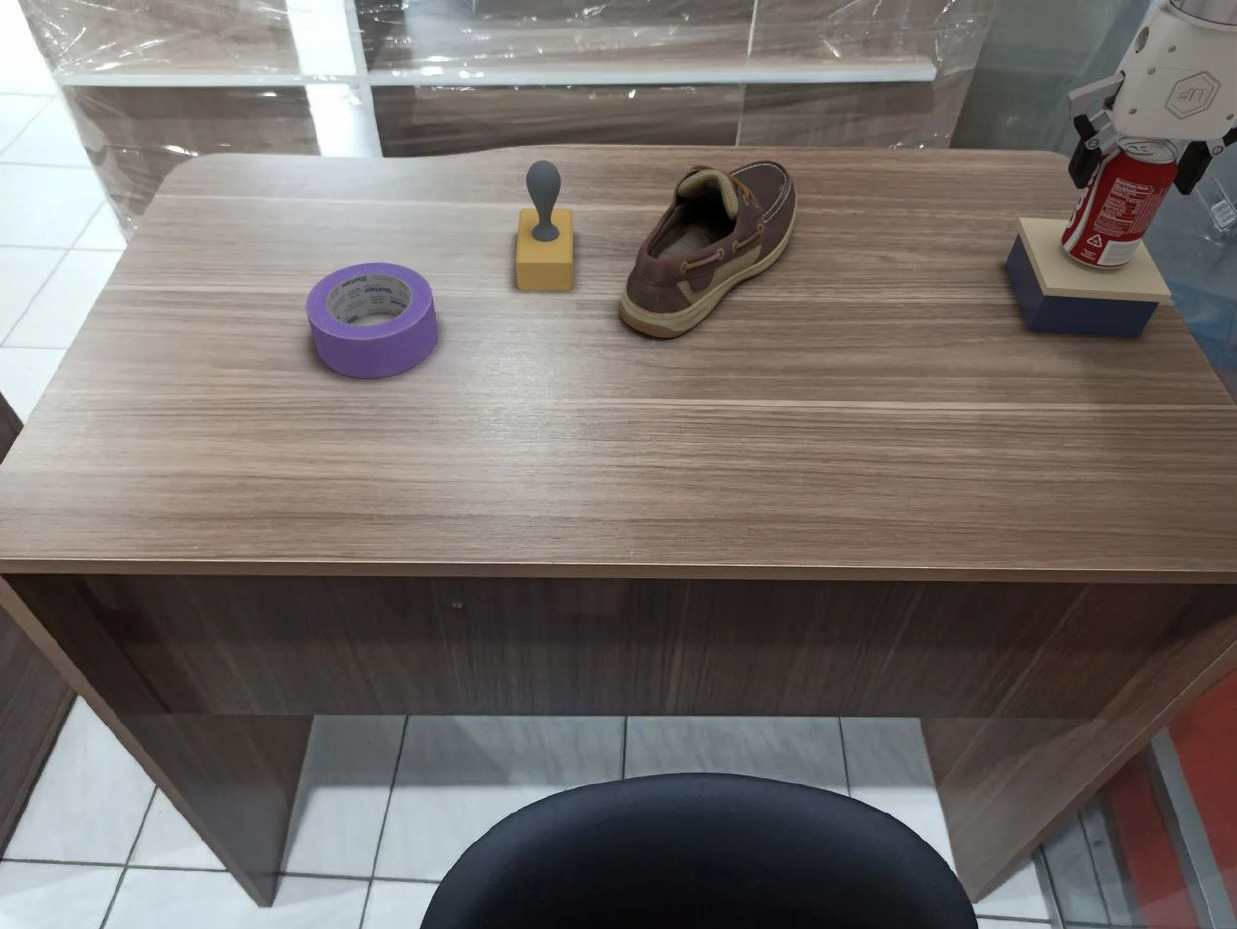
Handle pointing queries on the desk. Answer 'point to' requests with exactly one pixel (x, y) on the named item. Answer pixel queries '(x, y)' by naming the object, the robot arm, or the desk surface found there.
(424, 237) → the desk surface
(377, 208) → the desk surface
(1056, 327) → the navy box with lid
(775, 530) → the desk surface
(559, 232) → the rubber stamp
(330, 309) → the tape roll
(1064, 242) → the soda can
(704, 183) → the boat shoe
